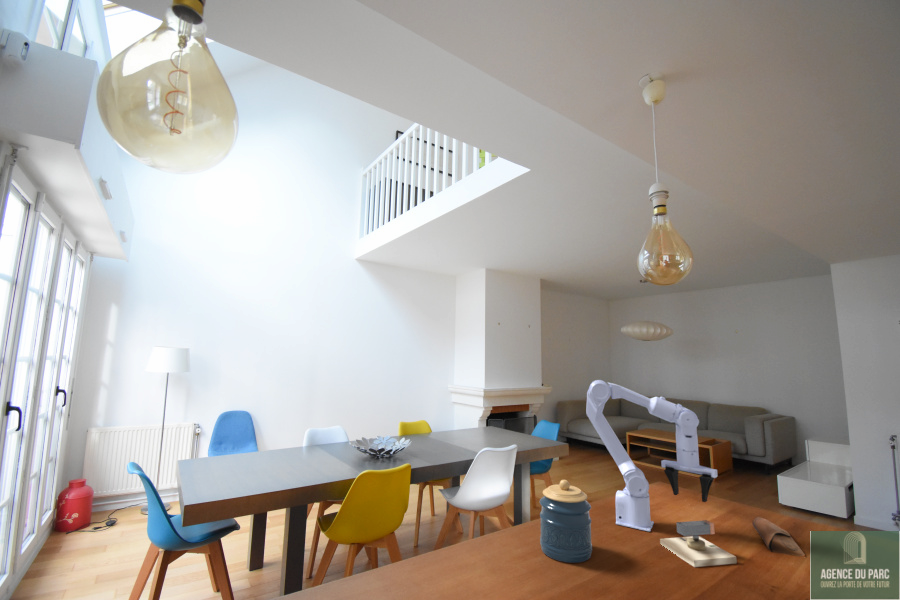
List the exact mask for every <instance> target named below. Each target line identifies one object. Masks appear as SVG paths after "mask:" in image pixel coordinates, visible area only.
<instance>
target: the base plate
mask: <svg viewBox="0 0 900 600" xmlns="http://www.w3.org/2000/svg"><path fill="white" fill-rule="evenodd" d="M659 544H661V545H662V546H661V545H660V546H661V547H663V546H664V547H665V549H666V548H667V549H668V550H667V549H666V550H667V551H669V550H670V551H671V553H672V552H673V553H672V554H673V555H675V554H676V556H677V557H678V558H680V559H681V560H682V561H684V562H686V563H688V565H690V566H692V567H693V568H699V567H711V566H713V567H714V566H721V565H723V566H724V565H733V564H734V565H735V564H737V563H738V561H737V556H735V555H734V554H732V553H730V552H728V551H727V550H725V549H723V548H721V547H720V546H717V545H716V544H714V543H712V542H710V541H708V540H706V539H705V538H704V537H702V536H699V541H694V540H693V535H692V536H683V537H682V536H681V537H680V536H679V537H665V538H659ZM664 547H663V548H664ZM670 551H669V552H670Z"/></svg>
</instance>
